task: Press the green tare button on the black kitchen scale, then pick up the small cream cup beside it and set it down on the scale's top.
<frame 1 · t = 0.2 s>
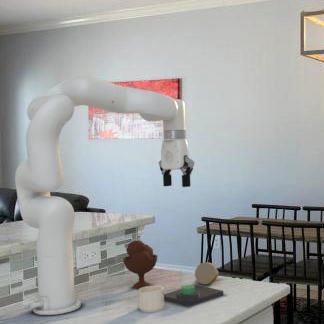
hand: (176, 186, 185), 31 cm above the counter, tool pointing down, fingers open, 9 cm apart
tare button: (188, 290, 153), point 4 cm above the counter, slide at 0.1 cm
mug: (208, 282, 176), on the counter
scale: (192, 297, 159), on the counter
ice cream bowl: (141, 287, 174), on the counter
cream cup: (151, 308, 150), on the counter
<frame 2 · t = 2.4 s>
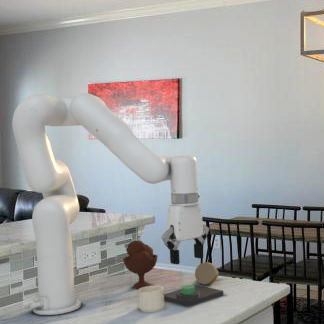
hand: (187, 260, 153), 12 cm above the counter, tool pointing down, fingers open, 8 cm apart
nothing on the counter moved.
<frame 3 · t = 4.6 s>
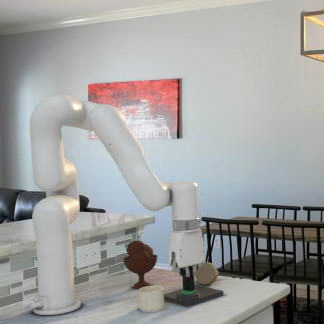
hand: (188, 289, 153), 4 cm above the counter, tool pointing down, fingers closed
tare button: (188, 293, 154), point 3 cm above the counter, slide at -0.8 cm, touching gripper
everything else where it was.
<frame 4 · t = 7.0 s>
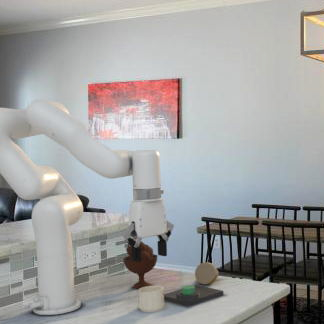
hand: (149, 258, 149), 14 cm above the counter, tool pointing down, fingers open, 8 cm apart
tare button: (188, 290, 153), point 4 cm above the counter, slide at 0.1 cm
everything else where it was.
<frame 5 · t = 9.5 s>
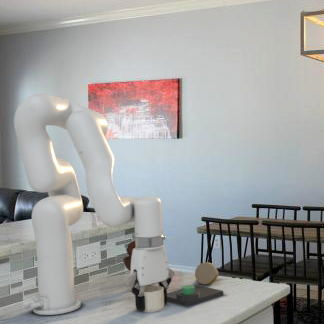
hand: (151, 305, 150), 1 cm above the counter, tool pointing down, fingers closed on cream cup, 6 cm apart
cream cup: (151, 308, 150), on the counter, touching gripper
everything else where it was.
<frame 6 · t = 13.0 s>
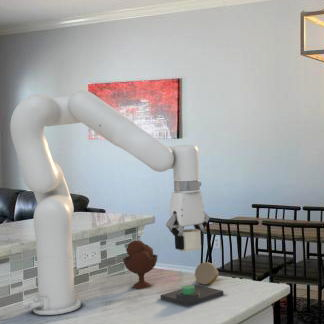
hand: (189, 246, 160), 15 cm above the counter, tool pointing down, fingers closed on cream cup, 6 cm apart
cream cup: (189, 249, 160), point 14 cm above the counter, touching gripper
everything else where it was.
when the fingers open (2 cm above the counter, at t = 16.6 s): cream cup stays where it is, resting on scale.
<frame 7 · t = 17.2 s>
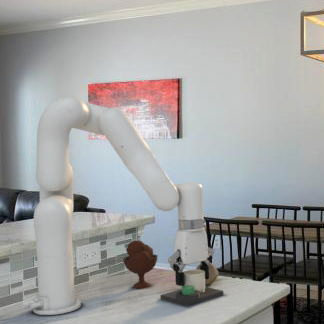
hand: (192, 281, 162), 4 cm above the counter, tool pointing down, fingers open, 9 cm apart
cream cup: (194, 290, 162), point 1 cm above the counter, touching scale
everything else where it was.
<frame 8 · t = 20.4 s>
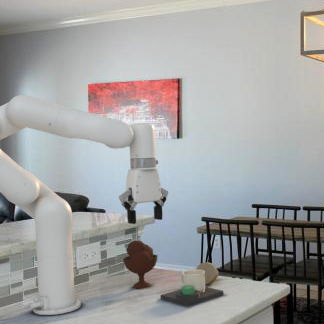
hand: (145, 221, 163), 22 cm above the counter, tool pointing down, fingers open, 9 cm apart
nothing on the counter moved.
at the end: tare button pushed in 0.9 cm at the most during the clip and back out by the end; cream cup 0.1 cm from the target spot on the scale, point 1.4 cm above the scale's base; cream cup touching scale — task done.
